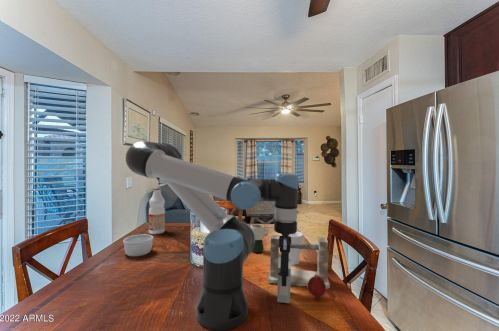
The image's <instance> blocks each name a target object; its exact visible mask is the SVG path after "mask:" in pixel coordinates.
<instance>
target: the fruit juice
mask: <svg viewBox="0 0 499 331" xmlns="http://www.w3.org/2000/svg"><path fill="white" fill-rule="evenodd" d="M152 191H153V192H152V196H151V198H150V199H149V202H148V204H149V208H148V233H149V235H159V234H164V232H165V231H166V230H165V228H166V227H165V224H166V221H165V220H166V217H165V216H166V208H165V203H166V200H165V198H164V197H163V195H162V187H160V186H159V187H153V188H152Z"/></svg>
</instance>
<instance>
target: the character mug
mask: <svg viewBox="0 0 499 331" xmlns="http://www.w3.org/2000/svg"><path fill="white" fill-rule="evenodd" d="M250 227H251V228H252V230H253V232H254V234H255V244H254V248H253V250H252V252H253V253H262V252H264V250H265V249H264V241H263V240H264V239H265V237H269V229H266V227H265V224H260V223H253V224H251V225H250Z"/></svg>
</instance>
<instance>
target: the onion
mask: <svg viewBox="0 0 499 331" xmlns="http://www.w3.org/2000/svg"><path fill="white" fill-rule="evenodd" d="M307 290H308V292H309V293H310V294H311V295H312V296H313V297H314V299H319V298H321V297H323V296H324V295H325V293H326V290H327V289H326V285H325V283H324V281H323V280H322V278H320V277H319V276H318V275H317V274H315V276H314V277H312V278H311V279H310V280H309V282H308V287H307Z"/></svg>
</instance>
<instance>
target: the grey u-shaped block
mask: <svg viewBox="0 0 499 331" xmlns="http://www.w3.org/2000/svg"><path fill="white" fill-rule="evenodd" d="M280 266H281V257H279V263H278V273H280ZM291 267H292V265H291V260H290V259H289V266H288V273H289V278H288V296H285V295H279V290H280V275H278V284H277V289H276V290H277V294H276V295H277V296H276V302H277V303H286V304H290V303H291V285H290V280H291V269H292V268H291Z"/></svg>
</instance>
